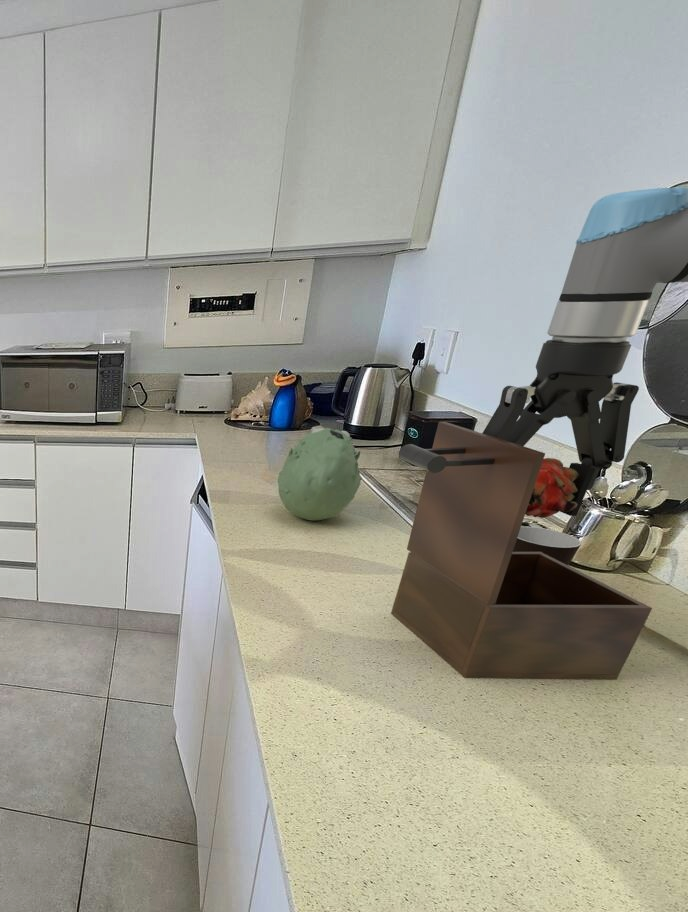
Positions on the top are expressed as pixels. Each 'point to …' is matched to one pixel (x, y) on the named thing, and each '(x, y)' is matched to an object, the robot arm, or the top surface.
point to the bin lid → (471, 505)
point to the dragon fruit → (552, 490)
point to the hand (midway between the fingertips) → (524, 512)
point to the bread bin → (522, 621)
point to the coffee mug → (547, 543)
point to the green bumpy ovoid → (320, 474)
